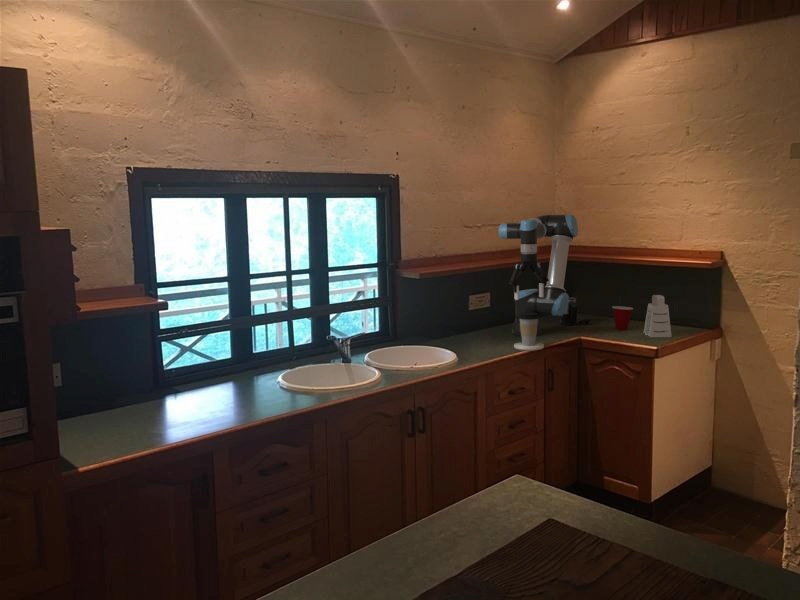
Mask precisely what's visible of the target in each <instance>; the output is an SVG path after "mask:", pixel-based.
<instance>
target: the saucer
mask: <svg viewBox="0 0 800 600" xmlns="http://www.w3.org/2000/svg"><path fill="white" fill-rule="evenodd" d="M513 348H514V349H516V350H519V351H540V350H543V349H545V344H544V343H541V342H536V341H535V345H534V346H524V345H522V341H521V342H520V341H519V342H516V343H513Z"/></svg>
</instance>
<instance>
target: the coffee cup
mask: <svg viewBox="0 0 800 600" xmlns="http://www.w3.org/2000/svg"><path fill="white" fill-rule="evenodd" d="M519 318H520V329H521V336H520V337H521V342H522V345H524V346H534V345H535V342H536V339H537V336H538V335H537V325H538V323H537V322H538V320H539V319H540V316H539V315H537V313H533V312H525V313H520V316H519Z"/></svg>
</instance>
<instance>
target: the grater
mask: <svg viewBox="0 0 800 600" xmlns="http://www.w3.org/2000/svg"><path fill="white" fill-rule="evenodd" d="M665 302H666V301H665V296H664V295H661V294H653V295H652V296H651V303H648V305H647V310H646V315H645V322H644V328H643V334H644V333H645V334H644V335H645V336H647V335H648V336H647V337H649V336H650V337H649V338H670V337H671V338H672V328H671V318H670V310H669V305H668V304H666V303H665Z"/></svg>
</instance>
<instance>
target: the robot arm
mask: <svg viewBox="0 0 800 600" xmlns="http://www.w3.org/2000/svg"><path fill="white" fill-rule="evenodd" d="M578 234H579V226H578V219H577V217H576V216H575V215H573V214H544V215H539V216H535V217H532V218H529V219H522V220H521V221H516V222H511V223H510V222H506V223H500V225H499V226H498V237H499V238H500V239H504V240H518V239H519V240H520V253H521V254H520V262H521V263H520V264H518V263H516V264H515V265H514V270H513V272H512V275H511V277H510V279H509V282H508V284H509V285H512V293H514V296H513V297H514V302H515V305H514V306H515V320H514V323H513V326H512V329H511V332H512V333H511V334H512V335H514V336H520V337H522V336H521V329H520V318H519V316H520V313H525V312H533V313H537V315H538V316H539V315H540V316H541V315H543V316H554V317H555V316H558V317H560V316H561V315H563V314H564V313H565V312H566V310H567V307H568V303H569V300H568V299H569V297H570V296H569V294H568V293H567V290H566V289H565V288H564V287H565V286H564V285H565V278H566V270H567V263H568V257H569V248H570V244H571V243H573V241H574V238H577V237H578ZM544 237H545V238H547V237H548V238H549V240H550V241H551V251H550V258H549V264H548V265H549V266H548V270H547V273H546V271H545V268H544V263H543V262H537V261H538V253H537V252H538V240H540V239H542V238H544ZM537 268H538V269H537ZM526 274H533V275H534V276H535V277H536V278H537V280H538V281H539V282H540V283H538V288H530V289H523V290H520V285H519V283H520V282H521V281H522V279H523V277H524V276H525V275H526ZM537 323H538V325H537V335H536V336H539V335H542V331H543V330H542V327H541V324H540V320H539V319H538V322H537Z"/></svg>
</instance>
